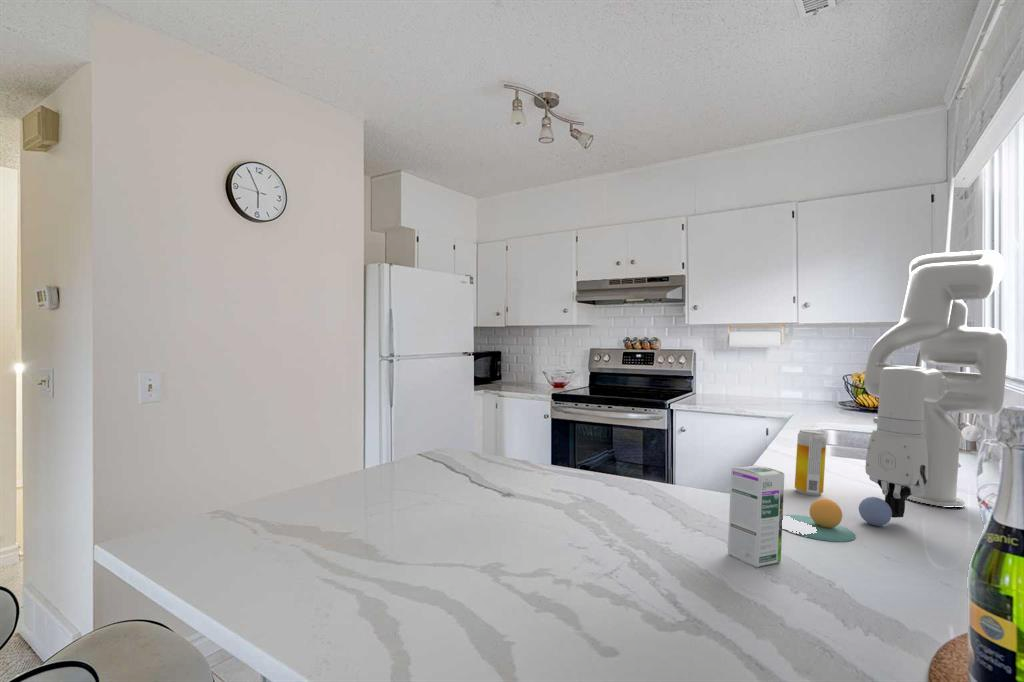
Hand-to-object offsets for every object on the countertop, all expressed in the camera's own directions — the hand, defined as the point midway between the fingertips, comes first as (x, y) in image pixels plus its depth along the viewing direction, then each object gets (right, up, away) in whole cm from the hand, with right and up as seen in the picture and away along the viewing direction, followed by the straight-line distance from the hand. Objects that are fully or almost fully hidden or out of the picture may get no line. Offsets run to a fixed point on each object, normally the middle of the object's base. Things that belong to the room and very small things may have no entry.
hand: (894, 515), depth 108 cm
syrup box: (-40, +1, -23) cm, 46 cm away
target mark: (-20, 0, -6) cm, 21 cm away
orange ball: (-17, +2, -5) cm, 18 cm away
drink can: (-6, -1, +20) cm, 21 cm away
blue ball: (-5, +2, -2) cm, 6 cm away
